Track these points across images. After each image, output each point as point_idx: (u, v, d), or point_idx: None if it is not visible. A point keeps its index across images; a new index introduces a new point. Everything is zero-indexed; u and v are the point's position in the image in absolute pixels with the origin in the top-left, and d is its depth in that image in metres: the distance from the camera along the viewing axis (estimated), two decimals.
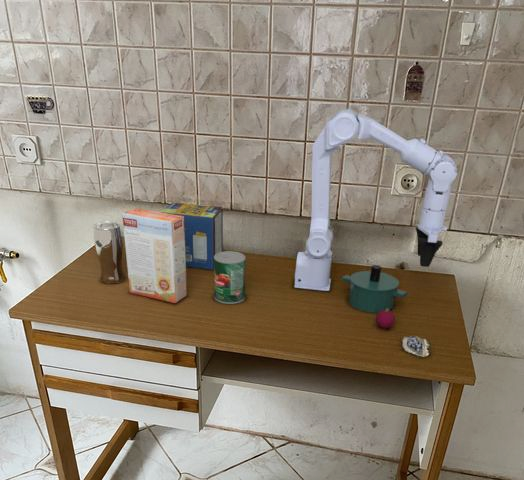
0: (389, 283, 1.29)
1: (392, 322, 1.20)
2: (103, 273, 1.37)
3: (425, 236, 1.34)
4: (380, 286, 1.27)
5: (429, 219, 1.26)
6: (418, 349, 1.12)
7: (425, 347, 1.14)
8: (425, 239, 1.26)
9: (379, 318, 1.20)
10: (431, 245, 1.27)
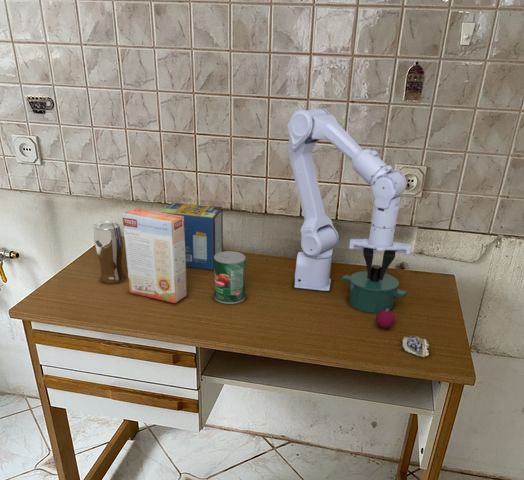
0: (389, 283, 1.29)
1: (392, 322, 1.20)
2: (103, 273, 1.37)
3: (383, 258, 1.28)
4: (380, 286, 1.27)
5: None
6: (418, 349, 1.12)
7: (425, 347, 1.14)
8: None
9: (379, 318, 1.20)
10: None
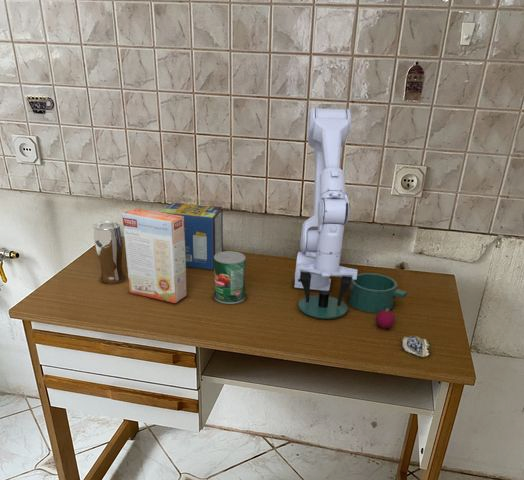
0: (337, 309, 1.27)
1: (392, 322, 1.20)
2: (103, 273, 1.37)
3: None
4: (328, 313, 1.25)
5: None
6: (418, 349, 1.12)
7: (425, 347, 1.14)
8: None
9: (379, 318, 1.20)
10: None
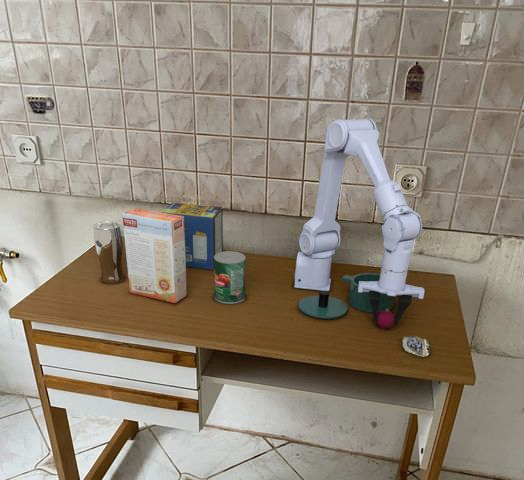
0: (337, 309, 1.27)
1: (392, 322, 1.20)
2: (103, 273, 1.37)
3: (398, 302, 1.19)
4: (328, 313, 1.25)
5: None
6: (418, 349, 1.12)
7: (425, 347, 1.14)
8: None
9: (379, 318, 1.20)
10: None
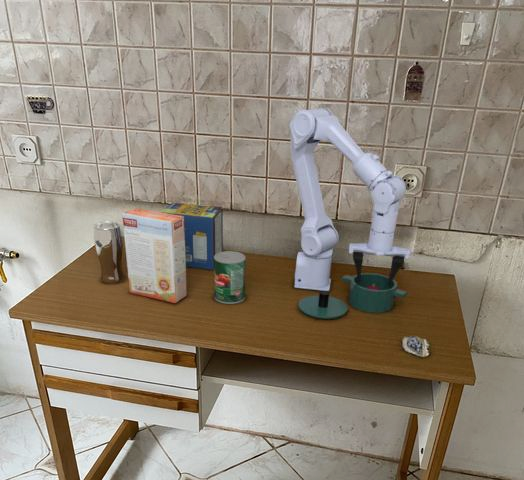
0: (337, 309, 1.27)
1: None
2: (103, 273, 1.37)
3: (392, 264, 1.28)
4: (328, 313, 1.25)
5: None
6: (418, 349, 1.12)
7: (425, 347, 1.14)
8: None
9: None
10: None
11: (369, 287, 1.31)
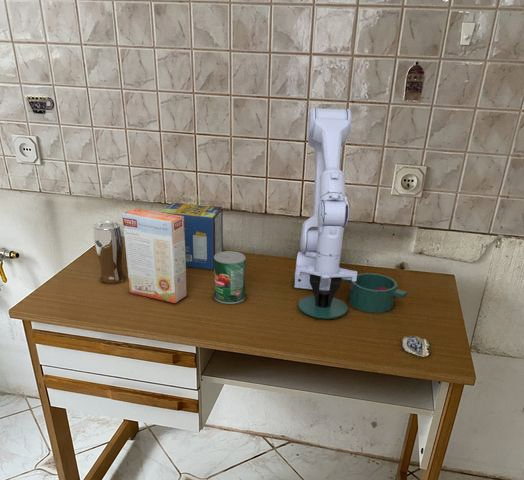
0: (337, 309, 1.27)
1: None
2: (103, 273, 1.37)
3: None
4: (328, 313, 1.25)
5: None
6: (418, 349, 1.12)
7: (425, 347, 1.14)
8: None
9: None
10: None
11: None
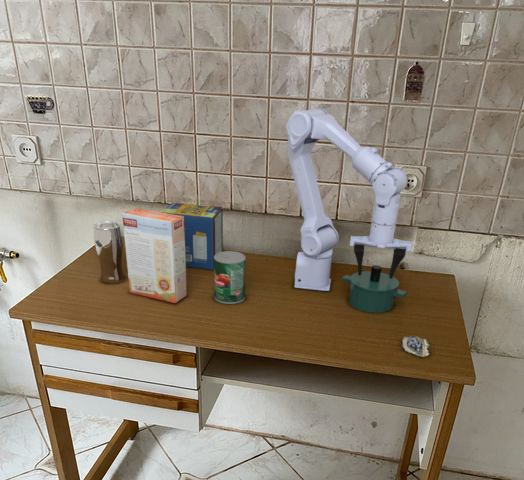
0: (389, 283, 1.29)
1: None
2: (103, 273, 1.37)
3: (393, 256, 1.27)
4: (381, 287, 1.27)
5: None
6: (418, 349, 1.12)
7: (425, 347, 1.14)
8: None
9: None
10: None
11: None
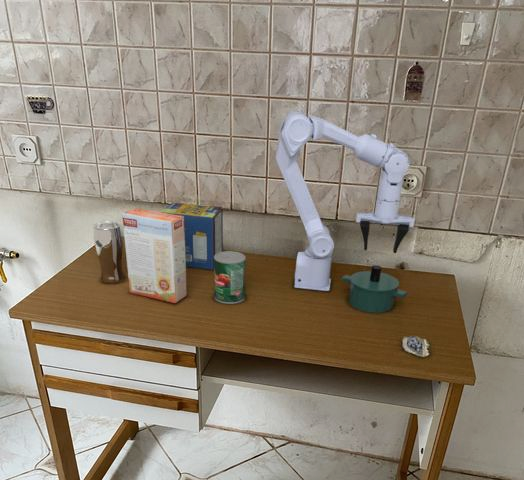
0: (389, 283, 1.29)
1: None
2: (103, 273, 1.37)
3: (397, 232, 1.35)
4: (381, 287, 1.27)
5: None
6: (418, 349, 1.12)
7: (425, 347, 1.14)
8: None
9: None
10: None
11: None
